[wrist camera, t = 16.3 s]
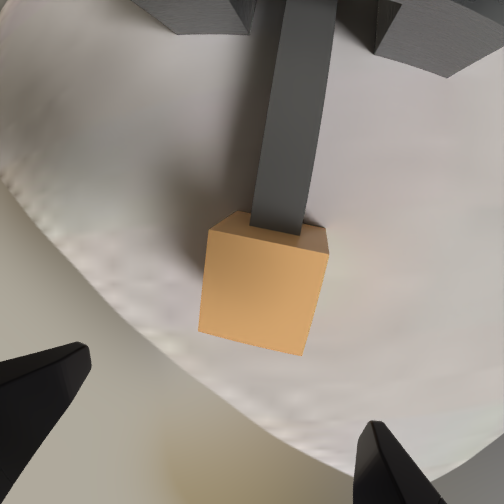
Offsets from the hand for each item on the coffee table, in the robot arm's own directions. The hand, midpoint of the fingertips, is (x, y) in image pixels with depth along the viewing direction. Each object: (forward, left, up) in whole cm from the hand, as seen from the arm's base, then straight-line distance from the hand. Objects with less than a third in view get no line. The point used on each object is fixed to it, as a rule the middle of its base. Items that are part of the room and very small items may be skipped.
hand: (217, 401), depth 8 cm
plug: (-9, 0, -11) cm, 14 cm away
